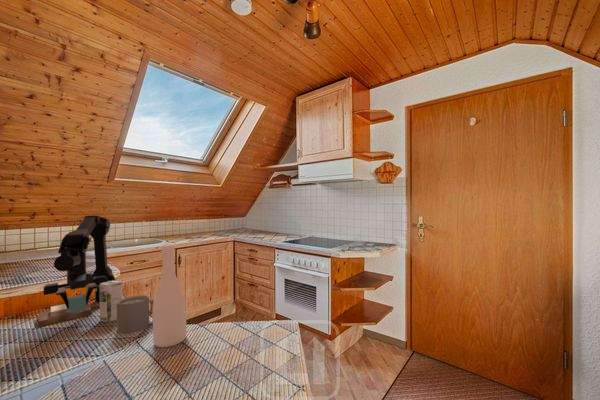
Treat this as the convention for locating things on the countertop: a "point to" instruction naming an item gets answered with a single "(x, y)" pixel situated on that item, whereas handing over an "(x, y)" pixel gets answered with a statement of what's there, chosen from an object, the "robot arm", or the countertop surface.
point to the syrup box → (110, 300)
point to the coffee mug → (133, 313)
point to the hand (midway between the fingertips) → (77, 306)
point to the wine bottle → (169, 305)
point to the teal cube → (77, 303)
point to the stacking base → (61, 315)
